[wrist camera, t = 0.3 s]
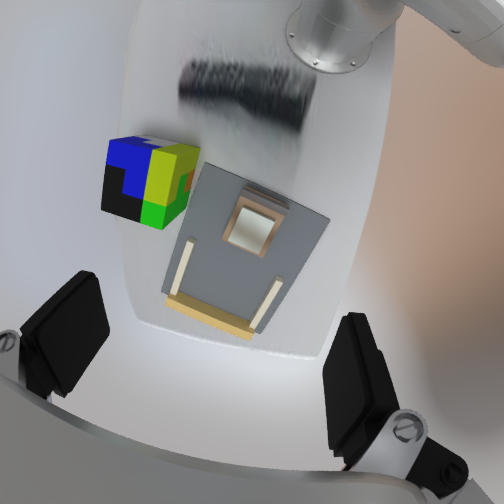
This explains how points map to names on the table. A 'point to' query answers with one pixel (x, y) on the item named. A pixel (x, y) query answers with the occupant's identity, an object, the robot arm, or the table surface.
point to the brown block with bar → (254, 221)
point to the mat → (235, 258)
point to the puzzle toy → (148, 179)
